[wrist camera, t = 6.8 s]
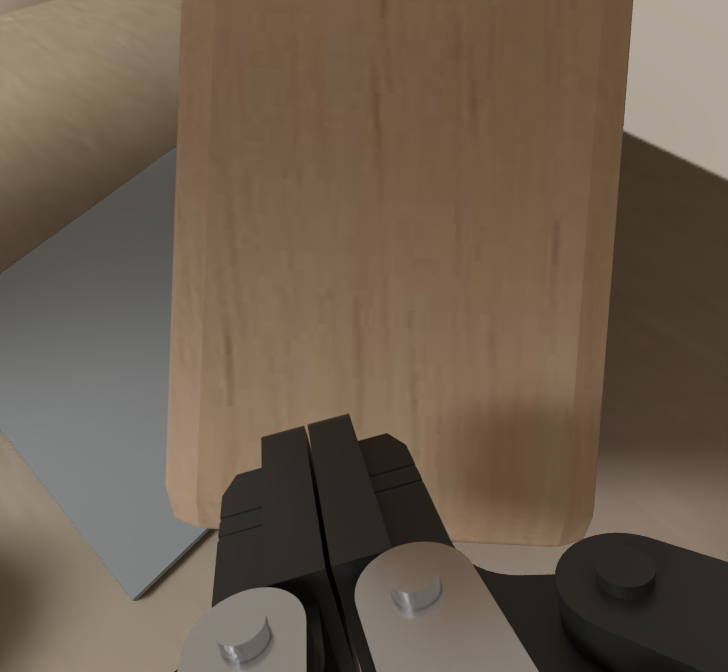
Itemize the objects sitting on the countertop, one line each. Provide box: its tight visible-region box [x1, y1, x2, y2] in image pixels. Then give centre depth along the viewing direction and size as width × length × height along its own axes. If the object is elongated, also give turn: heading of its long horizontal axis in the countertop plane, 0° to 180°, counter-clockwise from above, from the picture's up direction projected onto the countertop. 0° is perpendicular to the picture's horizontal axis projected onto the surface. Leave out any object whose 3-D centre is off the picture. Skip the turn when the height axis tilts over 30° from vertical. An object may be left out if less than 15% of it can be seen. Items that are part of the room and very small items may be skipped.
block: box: [165, 0, 633, 547], centre depth 18 cm, size 10×10×20 cm
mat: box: [0, 146, 210, 601], centre depth 26 cm, size 15×16×1 cm
